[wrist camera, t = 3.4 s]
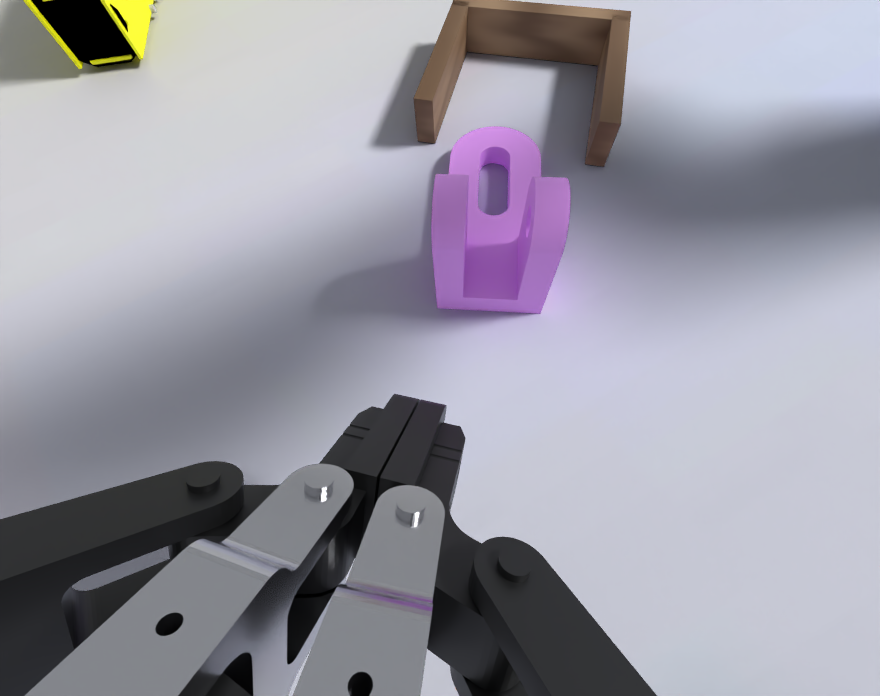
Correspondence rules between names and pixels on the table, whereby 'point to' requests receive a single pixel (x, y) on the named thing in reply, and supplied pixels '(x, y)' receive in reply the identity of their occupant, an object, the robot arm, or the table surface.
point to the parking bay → (530, 36)
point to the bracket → (497, 227)
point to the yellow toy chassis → (96, 28)
